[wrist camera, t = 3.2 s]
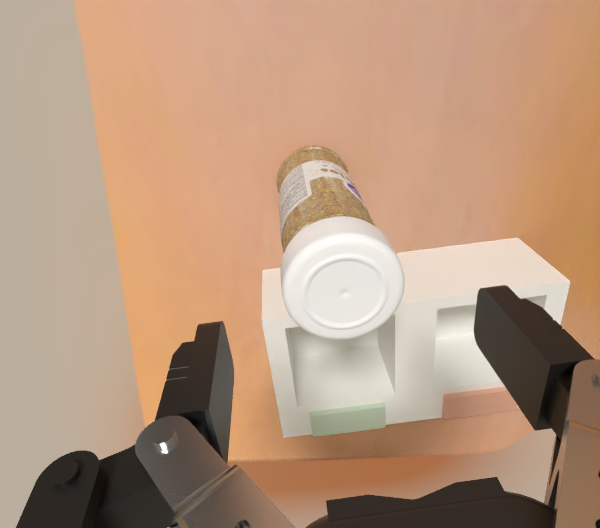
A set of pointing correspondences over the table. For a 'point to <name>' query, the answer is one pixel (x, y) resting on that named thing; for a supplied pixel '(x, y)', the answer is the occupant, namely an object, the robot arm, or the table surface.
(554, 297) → the socket block
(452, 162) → the table surface
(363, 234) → the spice jar
